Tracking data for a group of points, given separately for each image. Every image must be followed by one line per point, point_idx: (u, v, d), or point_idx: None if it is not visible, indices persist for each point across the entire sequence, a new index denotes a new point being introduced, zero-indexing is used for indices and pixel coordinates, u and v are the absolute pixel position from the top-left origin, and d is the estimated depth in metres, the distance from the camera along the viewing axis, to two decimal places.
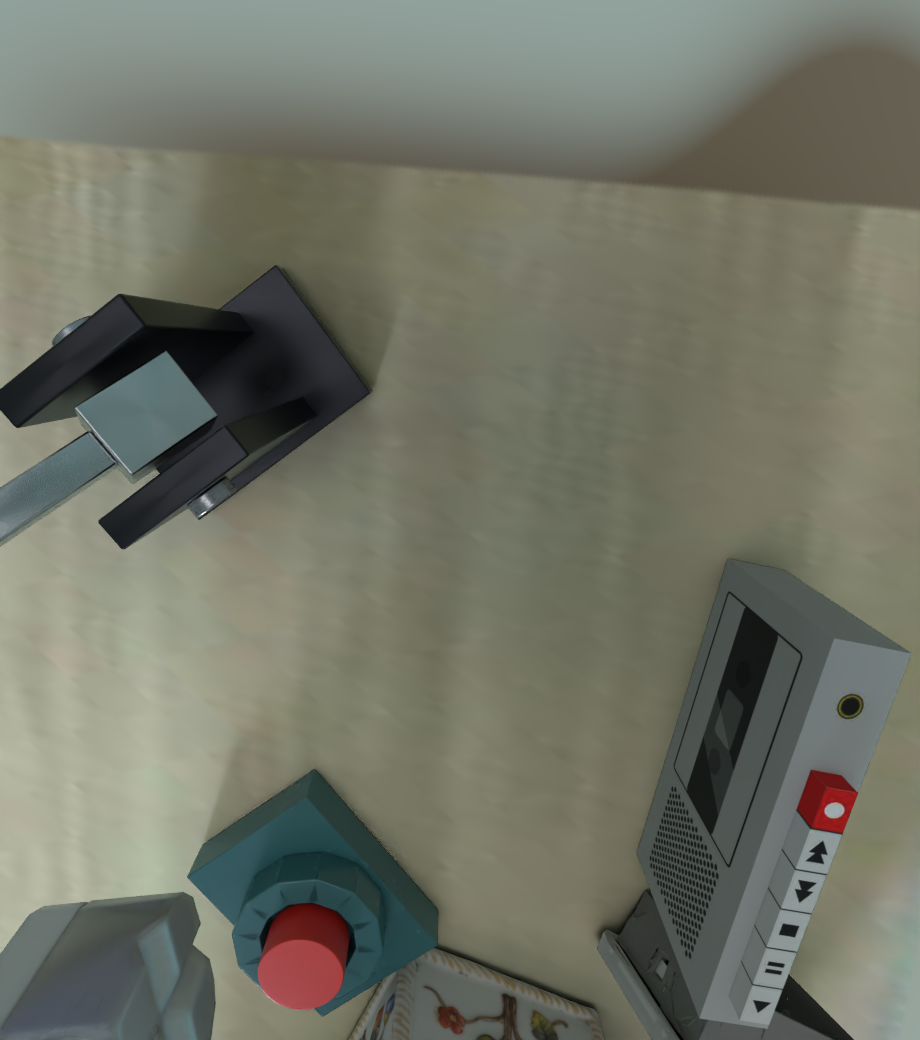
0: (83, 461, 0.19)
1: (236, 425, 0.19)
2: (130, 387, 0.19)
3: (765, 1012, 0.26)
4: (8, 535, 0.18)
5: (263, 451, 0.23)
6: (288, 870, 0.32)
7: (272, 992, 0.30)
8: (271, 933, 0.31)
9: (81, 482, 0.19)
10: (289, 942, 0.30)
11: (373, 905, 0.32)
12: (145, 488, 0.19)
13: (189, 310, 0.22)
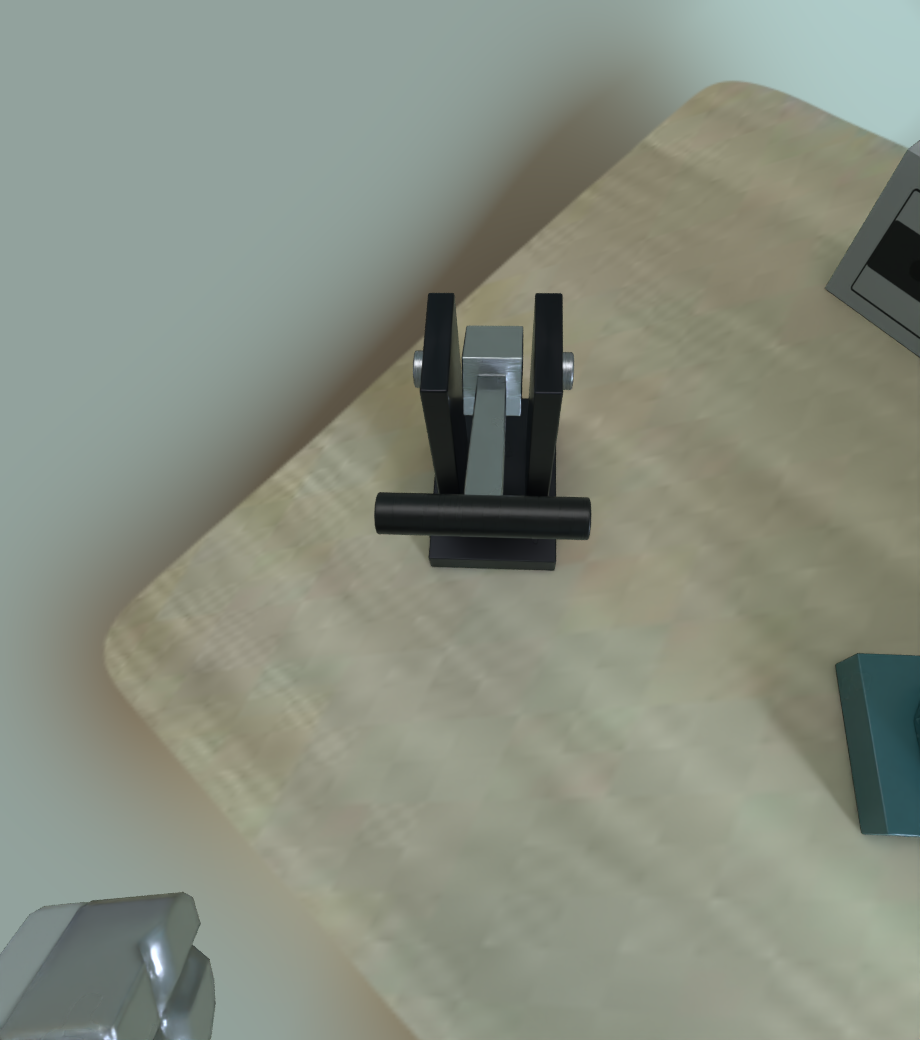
0: (492, 383, 0.25)
1: None
2: (473, 340, 0.27)
3: None
4: (504, 422, 0.23)
5: None
6: None
7: None
8: None
9: (504, 389, 0.25)
10: None
11: None
12: (536, 354, 0.25)
13: None
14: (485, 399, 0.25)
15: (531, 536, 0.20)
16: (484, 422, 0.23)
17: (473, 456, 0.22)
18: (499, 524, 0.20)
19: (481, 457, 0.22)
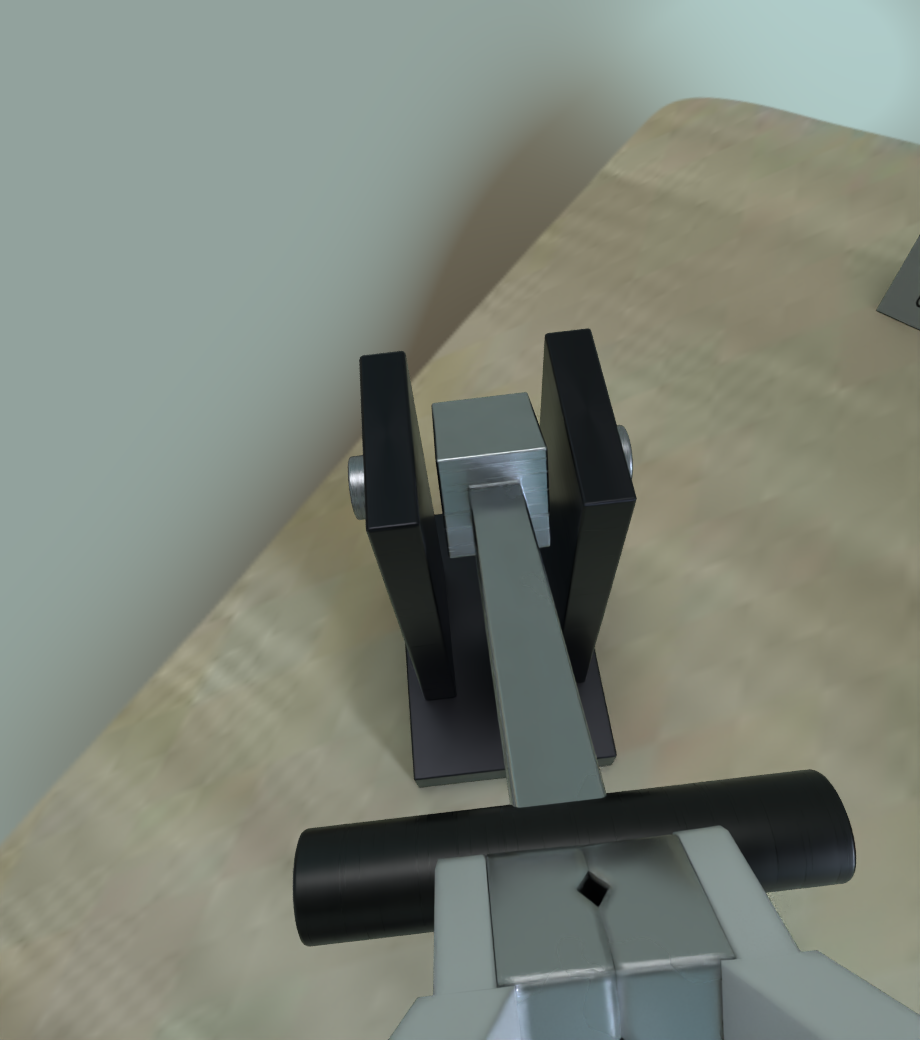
0: (500, 501, 0.14)
1: None
2: (449, 426, 0.15)
3: None
4: (547, 582, 0.12)
5: None
6: None
7: None
8: None
9: (525, 509, 0.13)
10: None
11: None
12: (571, 435, 0.14)
13: None
14: (495, 535, 0.13)
15: None
16: (508, 587, 0.11)
17: (506, 682, 0.10)
18: None
19: (524, 682, 0.10)
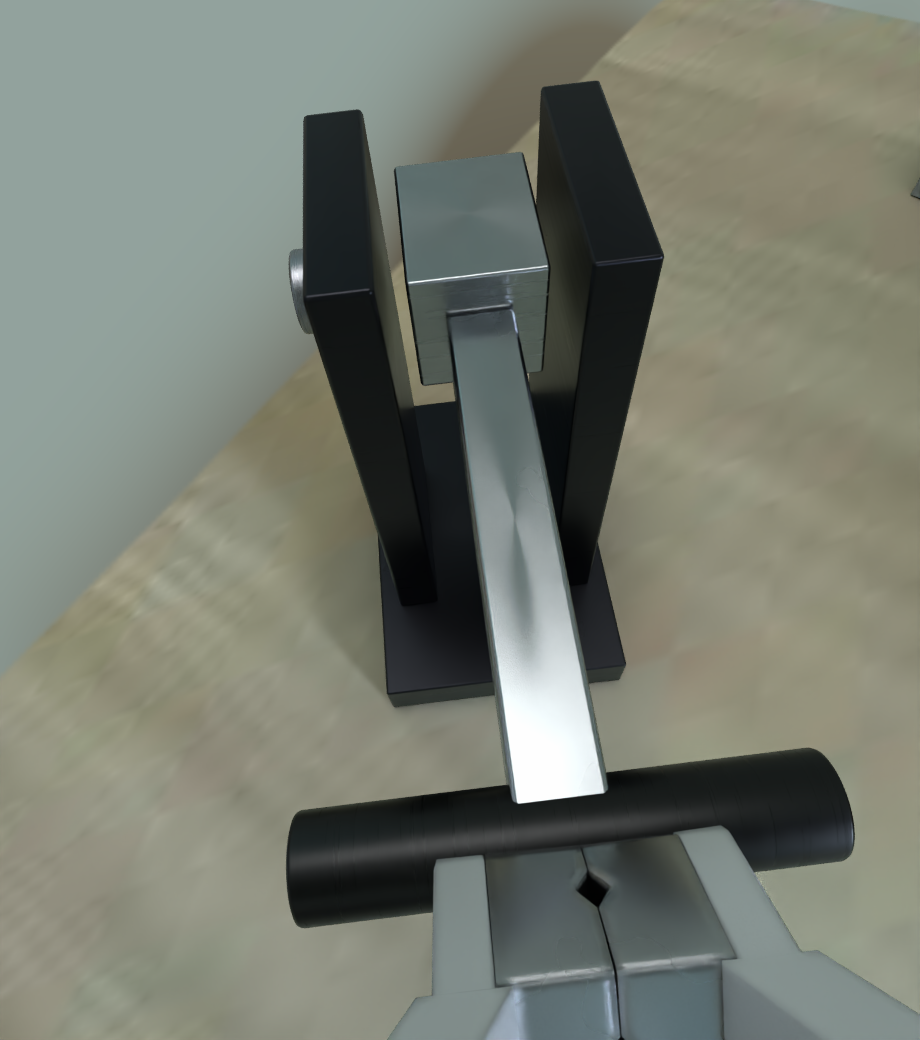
0: (488, 340, 0.11)
1: None
2: (420, 217, 0.11)
3: None
4: (546, 478, 0.10)
5: None
6: None
7: None
8: None
9: (519, 356, 0.11)
10: None
11: None
12: (576, 190, 0.11)
13: None
14: (483, 400, 0.10)
15: None
16: (500, 488, 0.10)
17: (502, 633, 0.09)
18: None
19: (521, 634, 0.09)
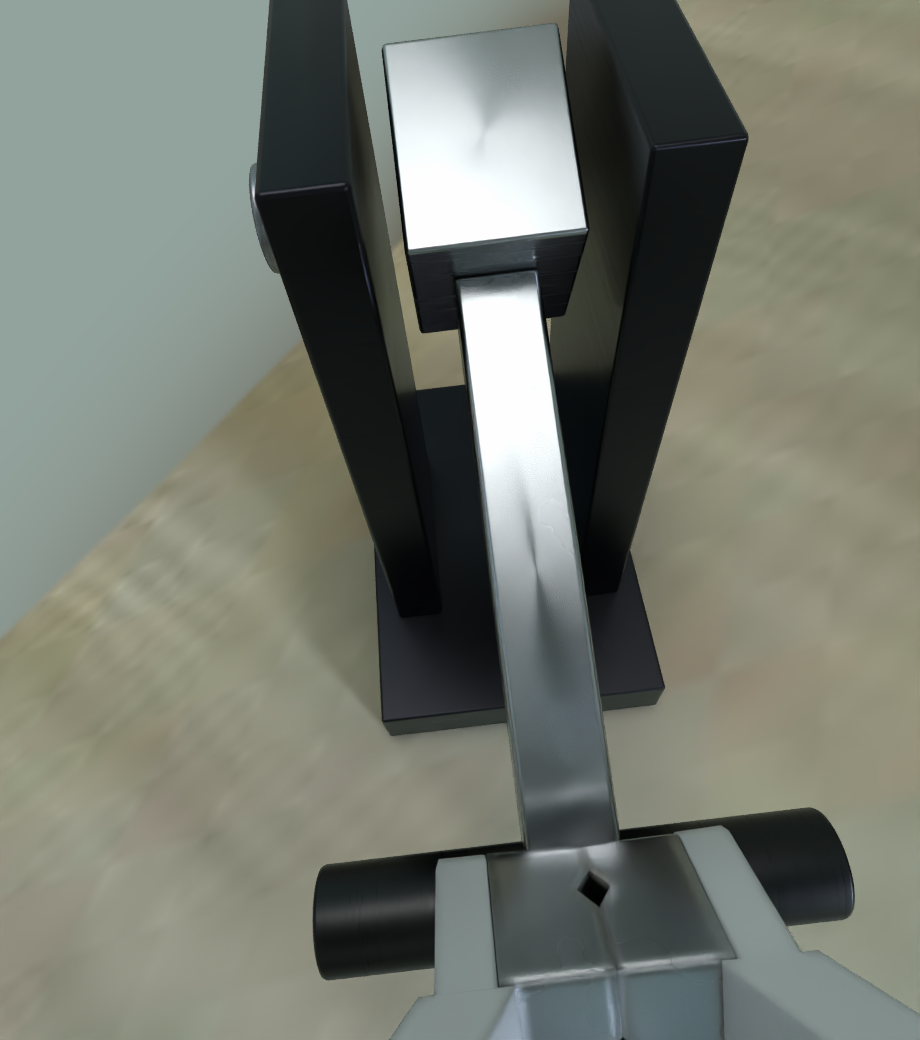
0: (506, 318, 0.09)
1: None
2: (420, 138, 0.09)
3: None
4: (572, 513, 0.09)
5: None
6: None
7: None
8: None
9: (544, 343, 0.09)
10: None
11: None
12: (623, 63, 0.08)
13: None
14: (501, 407, 0.09)
15: None
16: (520, 528, 0.09)
17: (522, 702, 0.08)
18: None
19: (542, 704, 0.08)
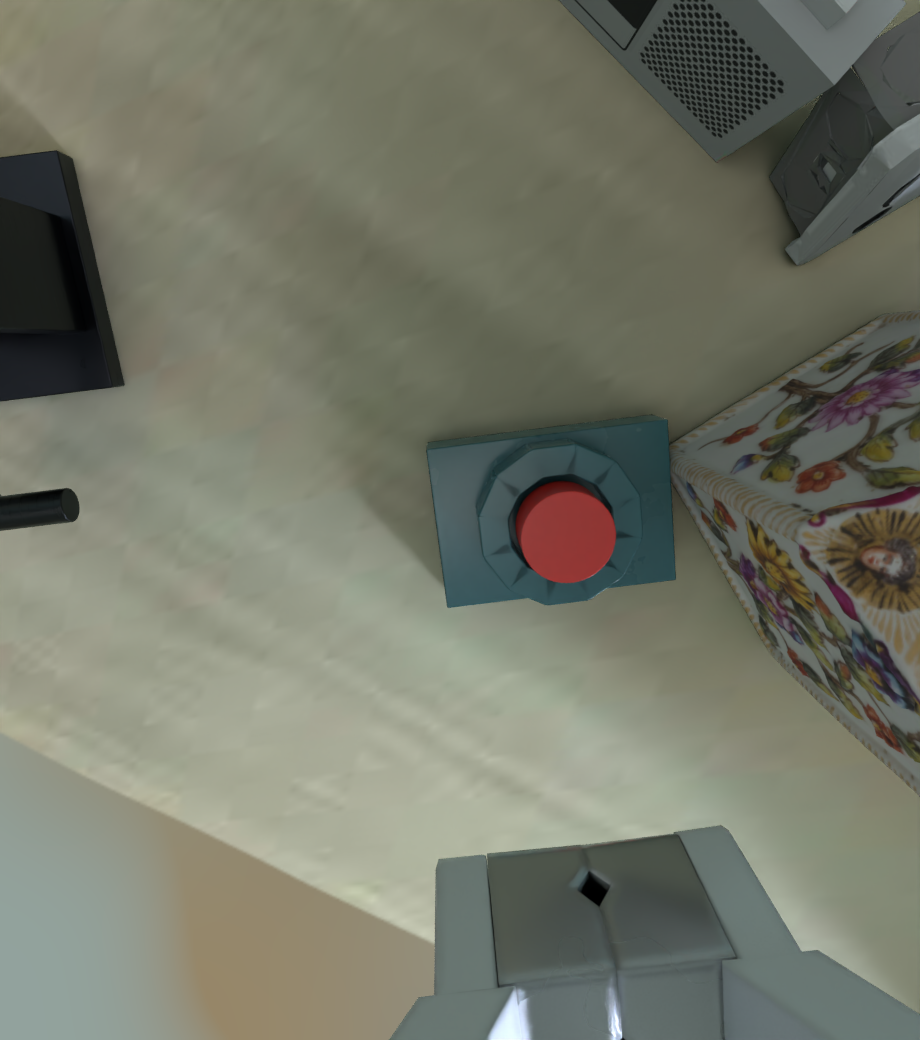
0: None
1: None
2: None
3: None
4: None
5: None
6: (480, 503, 0.29)
7: (570, 575, 0.27)
8: None
9: None
10: (524, 525, 0.27)
11: (563, 443, 0.28)
12: None
13: None
14: None
15: None
16: None
17: None
18: (6, 529, 0.25)
19: None
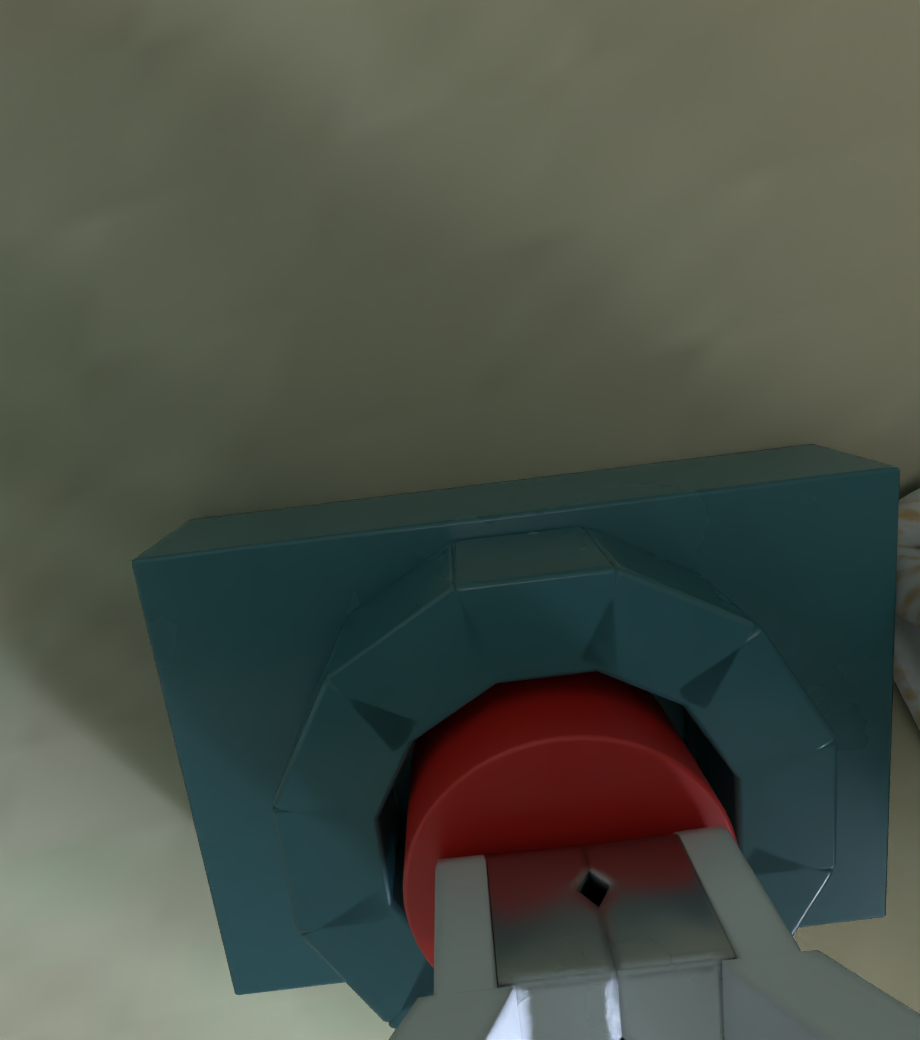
0: None
1: None
2: None
3: None
4: None
5: None
6: (293, 747, 0.09)
7: None
8: None
9: None
10: (413, 853, 0.07)
11: (570, 558, 0.08)
12: None
13: None
14: None
15: None
16: None
17: None
18: None
19: None
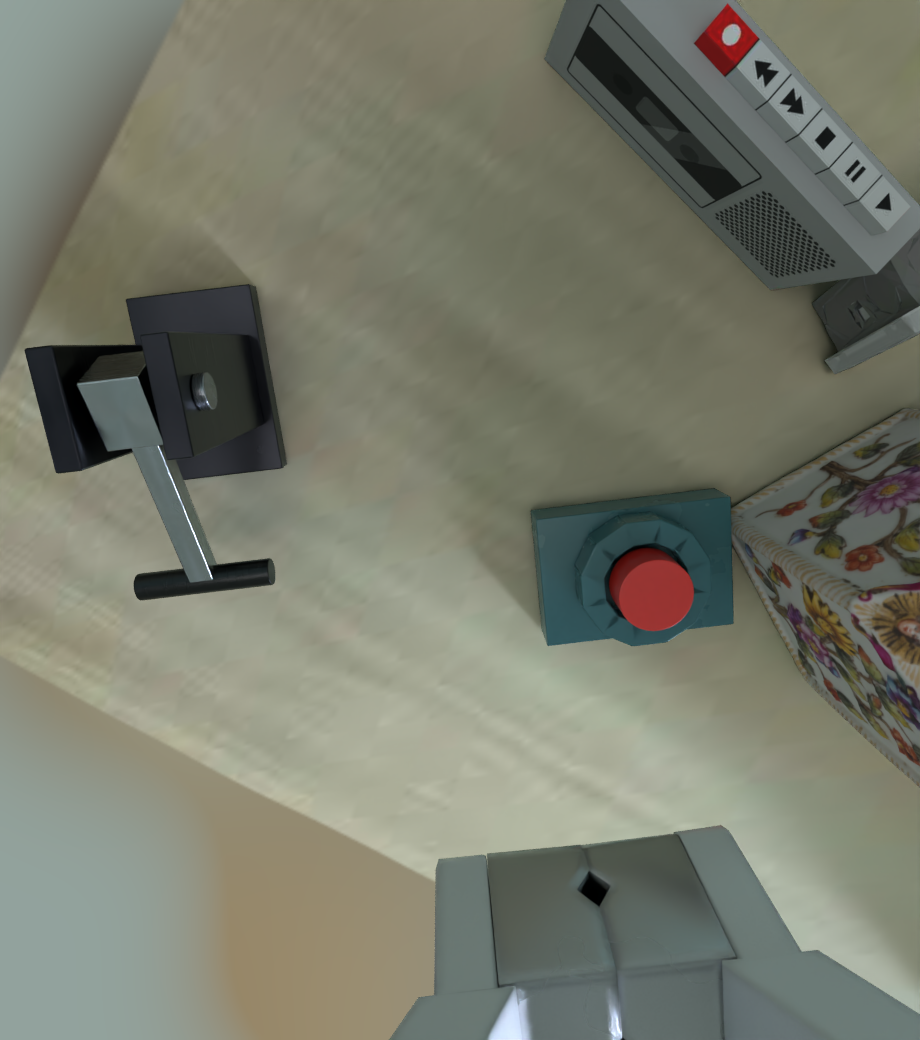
0: (148, 453, 0.28)
1: None
2: (100, 417, 0.26)
3: (895, 203, 0.26)
4: (183, 503, 0.29)
5: (213, 356, 0.29)
6: (580, 564, 0.36)
7: (657, 625, 0.34)
8: (615, 601, 0.35)
9: (162, 460, 0.28)
10: (622, 586, 0.34)
11: (649, 518, 0.35)
12: (158, 415, 0.25)
13: None
14: (153, 478, 0.28)
15: None
16: (167, 508, 0.29)
17: (178, 548, 0.30)
18: None
19: (183, 548, 0.30)
